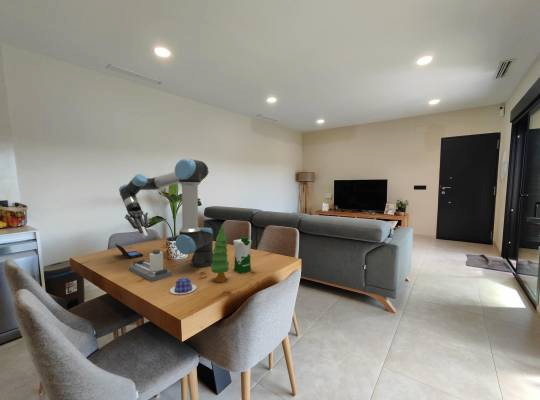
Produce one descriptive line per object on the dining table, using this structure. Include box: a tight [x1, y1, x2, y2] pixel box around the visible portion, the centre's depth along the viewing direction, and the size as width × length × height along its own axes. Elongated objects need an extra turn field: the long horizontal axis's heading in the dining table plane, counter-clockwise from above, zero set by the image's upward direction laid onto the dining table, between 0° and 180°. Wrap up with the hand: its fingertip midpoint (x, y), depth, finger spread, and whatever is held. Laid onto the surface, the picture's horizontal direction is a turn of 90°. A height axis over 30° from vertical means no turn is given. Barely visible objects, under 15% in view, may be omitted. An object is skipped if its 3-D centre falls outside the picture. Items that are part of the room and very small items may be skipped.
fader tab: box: [148, 248, 164, 272], centre depth 135 cm, size 5×6×12 cm
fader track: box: [128, 259, 173, 283], centre depth 140 cm, size 28×11×4 cm, turn 51°
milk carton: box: [233, 236, 252, 274], centre depth 144 cm, size 9×9×20 cm
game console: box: [114, 243, 144, 260], centre depth 173 cm, size 16×14×9 cm
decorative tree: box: [210, 223, 230, 283], centre depth 129 cm, size 10×9×30 cm
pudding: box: [169, 277, 197, 295], centre depth 118 cm, size 12×12×5 cm
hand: (145, 236), depth 142 cm, fingers closed
